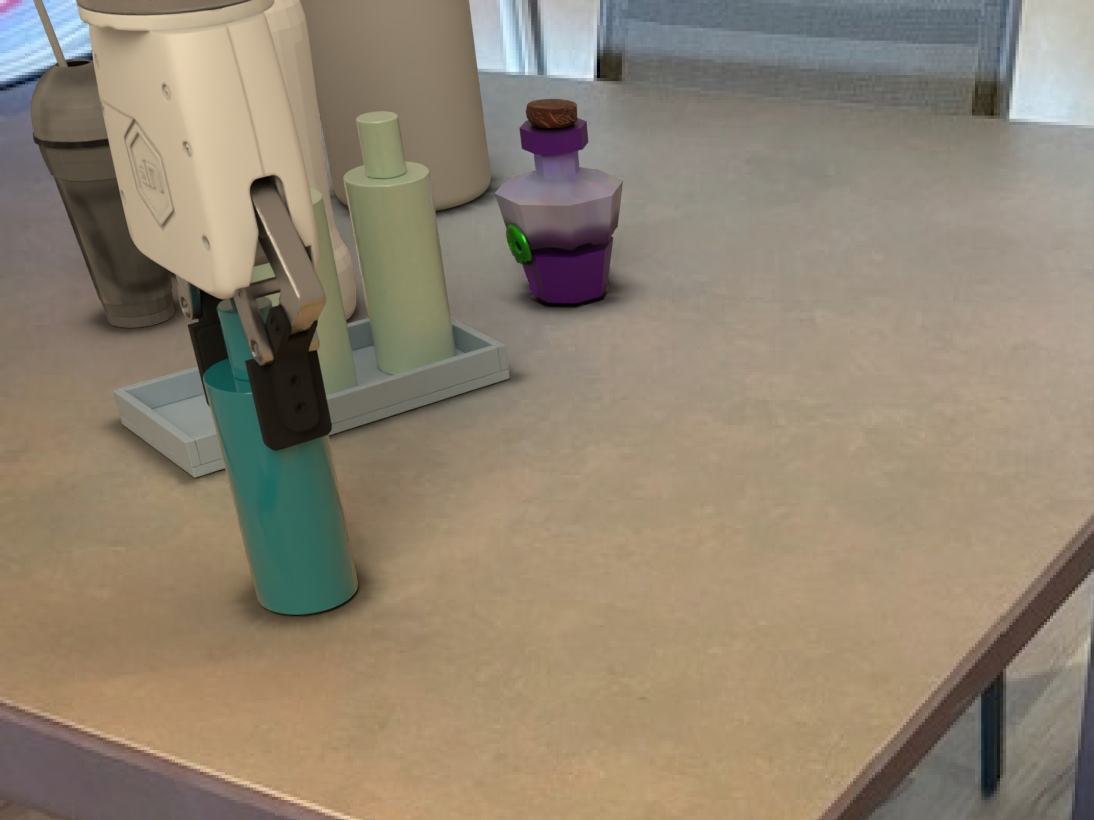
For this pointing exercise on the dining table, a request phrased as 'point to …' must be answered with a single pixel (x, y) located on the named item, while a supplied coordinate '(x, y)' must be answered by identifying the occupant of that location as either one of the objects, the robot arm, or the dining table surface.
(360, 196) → the bottle
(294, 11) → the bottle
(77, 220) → the beverage cup
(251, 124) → the robot arm
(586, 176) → the potion bottle
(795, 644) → the dining table surface
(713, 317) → the dining table surface
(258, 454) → the loose bottle
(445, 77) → the cylinder vase
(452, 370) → the tray
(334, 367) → the bottle
